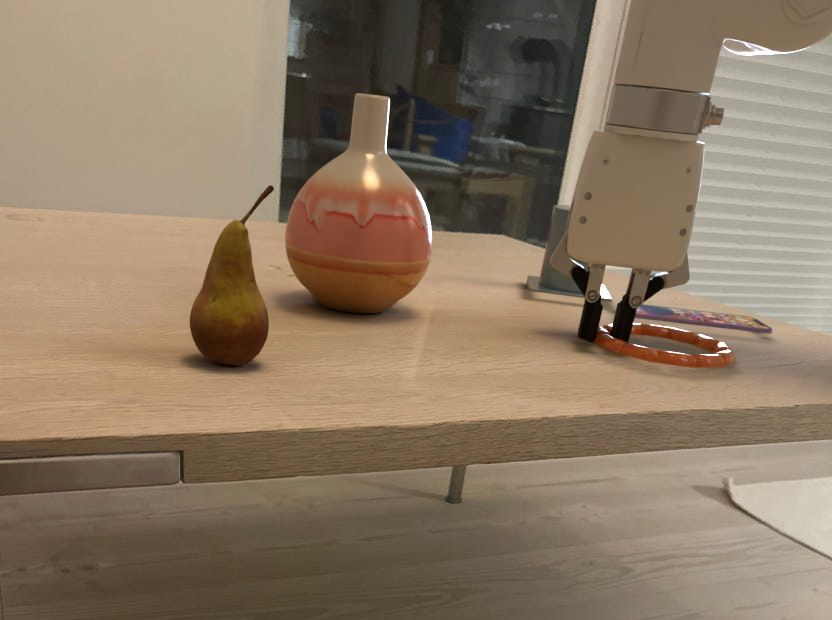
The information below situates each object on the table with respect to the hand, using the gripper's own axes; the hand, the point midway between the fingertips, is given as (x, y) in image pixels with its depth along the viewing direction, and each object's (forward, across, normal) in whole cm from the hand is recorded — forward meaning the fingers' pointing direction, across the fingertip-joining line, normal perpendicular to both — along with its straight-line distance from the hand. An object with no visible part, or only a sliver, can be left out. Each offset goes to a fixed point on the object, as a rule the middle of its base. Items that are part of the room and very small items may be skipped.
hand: (600, 346), depth 84 cm
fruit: (0, +29, +21) cm, 36 cm away
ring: (-1, -5, 0) cm, 5 cm away
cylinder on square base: (0, +1, -25) cm, 25 cm away
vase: (0, +23, -4) cm, 24 cm away
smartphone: (0, -11, -17) cm, 20 cm away
